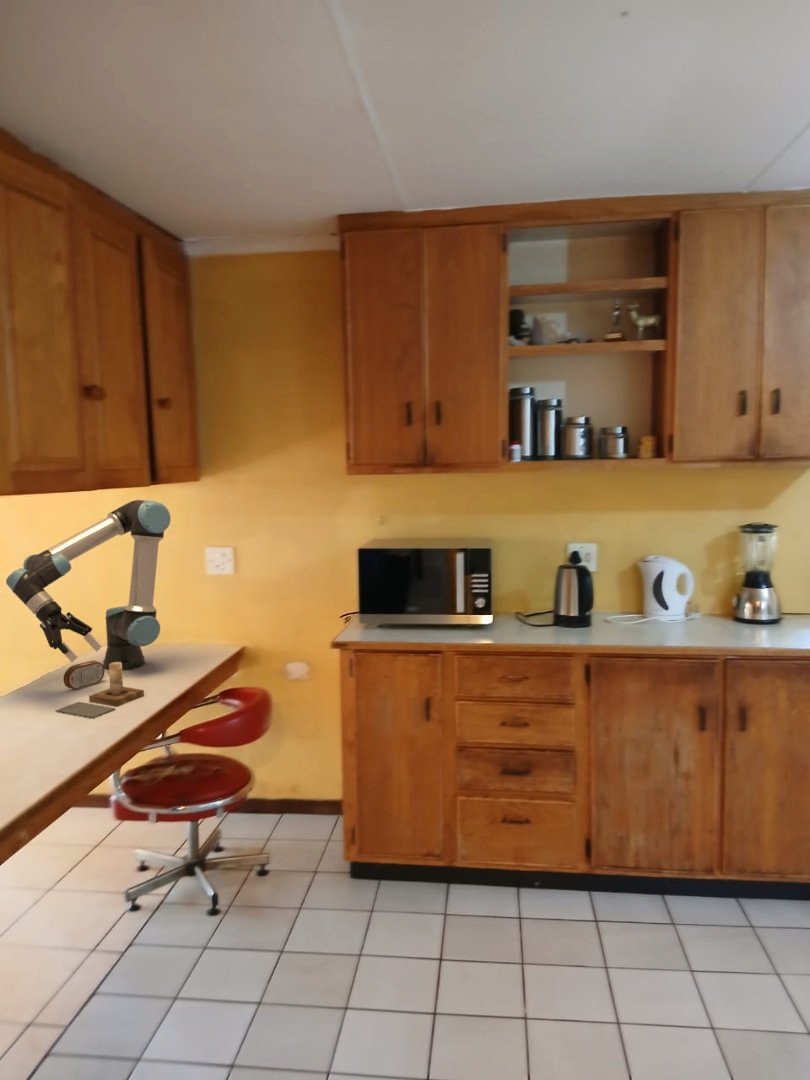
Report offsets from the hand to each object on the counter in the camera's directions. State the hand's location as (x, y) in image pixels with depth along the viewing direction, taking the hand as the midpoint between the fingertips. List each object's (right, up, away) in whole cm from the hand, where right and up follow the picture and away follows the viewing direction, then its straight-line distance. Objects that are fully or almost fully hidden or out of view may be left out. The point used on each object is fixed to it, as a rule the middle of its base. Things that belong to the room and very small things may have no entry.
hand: (87, 654), depth 243 cm
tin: (-7, -14, +15) cm, 22 cm away
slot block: (+10, -15, +1) cm, 18 cm away
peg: (+10, -15, +1) cm, 18 cm away
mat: (+4, -16, -11) cm, 20 cm away
